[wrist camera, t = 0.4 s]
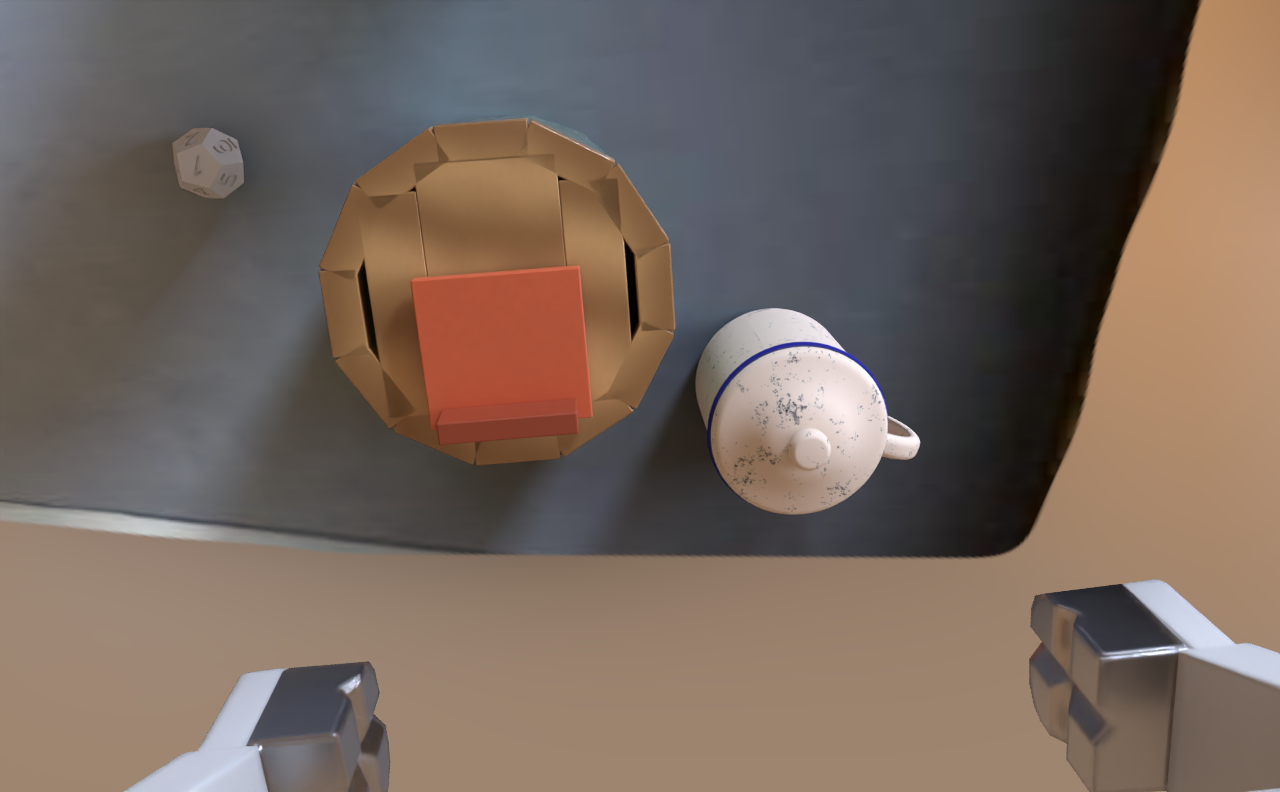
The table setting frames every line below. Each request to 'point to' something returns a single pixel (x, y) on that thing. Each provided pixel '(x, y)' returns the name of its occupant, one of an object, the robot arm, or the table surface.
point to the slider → (503, 353)
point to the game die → (208, 163)
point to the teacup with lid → (793, 413)
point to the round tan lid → (495, 266)
